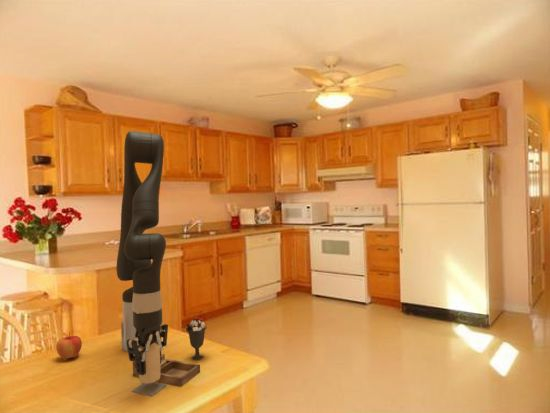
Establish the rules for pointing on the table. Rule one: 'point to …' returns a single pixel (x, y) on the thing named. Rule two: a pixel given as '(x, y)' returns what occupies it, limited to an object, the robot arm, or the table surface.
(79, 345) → the apple
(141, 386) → the coaster
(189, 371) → the tray
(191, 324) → the sundae
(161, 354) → the offcut upper
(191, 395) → the table surface
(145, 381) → the candle
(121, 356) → the table surface
